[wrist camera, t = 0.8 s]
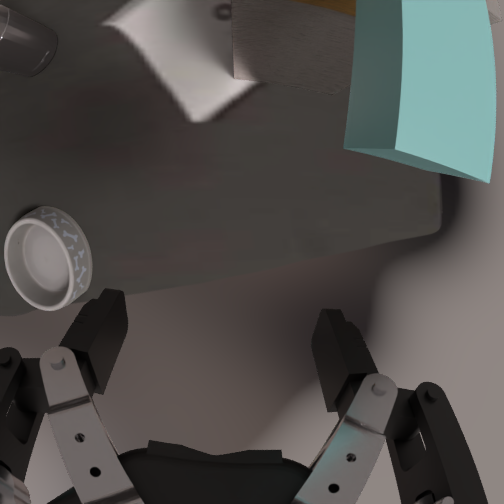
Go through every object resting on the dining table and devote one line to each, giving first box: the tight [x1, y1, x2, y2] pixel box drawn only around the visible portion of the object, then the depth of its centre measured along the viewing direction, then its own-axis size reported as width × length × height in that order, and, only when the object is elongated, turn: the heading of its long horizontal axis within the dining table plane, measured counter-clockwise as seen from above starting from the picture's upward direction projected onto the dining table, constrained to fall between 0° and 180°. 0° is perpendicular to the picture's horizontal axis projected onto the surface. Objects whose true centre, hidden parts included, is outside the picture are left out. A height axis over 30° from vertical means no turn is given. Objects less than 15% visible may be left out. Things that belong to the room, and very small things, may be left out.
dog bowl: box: [4, 206, 92, 311], centre depth 40 cm, size 17×18×5 cm
